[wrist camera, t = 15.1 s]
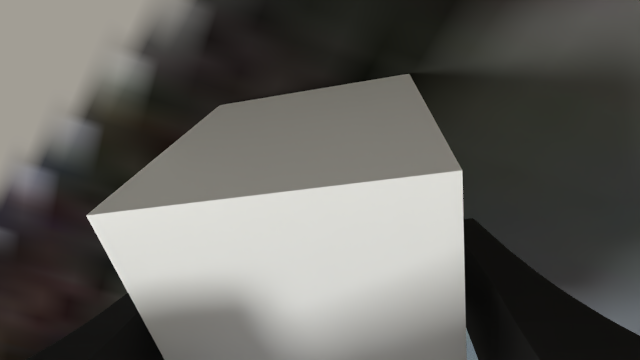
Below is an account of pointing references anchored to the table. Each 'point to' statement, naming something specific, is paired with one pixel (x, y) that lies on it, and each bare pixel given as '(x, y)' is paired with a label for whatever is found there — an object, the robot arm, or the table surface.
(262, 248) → the cover
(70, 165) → the table surface
